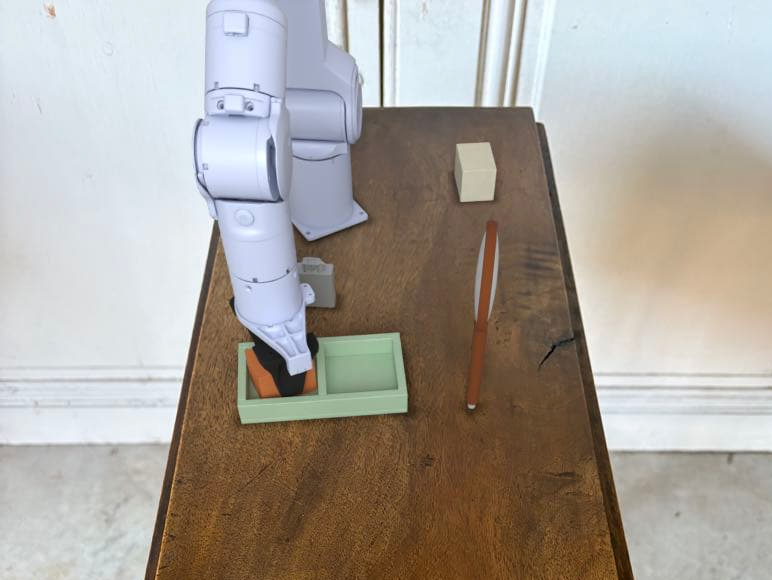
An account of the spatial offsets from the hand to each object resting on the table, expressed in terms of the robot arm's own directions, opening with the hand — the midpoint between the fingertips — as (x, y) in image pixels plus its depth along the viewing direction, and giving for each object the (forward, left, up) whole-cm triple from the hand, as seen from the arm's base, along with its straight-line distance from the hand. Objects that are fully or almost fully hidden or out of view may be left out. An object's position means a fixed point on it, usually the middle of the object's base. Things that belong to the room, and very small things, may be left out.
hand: (282, 376), depth 77 cm
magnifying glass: (+12, +14, -2) cm, 19 cm away
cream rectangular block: (-17, +34, -2) cm, 39 cm away
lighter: (-10, +7, -2) cm, 13 cm away
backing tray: (+2, +3, -2) cm, 4 cm away
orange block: (0, 0, -1) cm, 1 cm away
